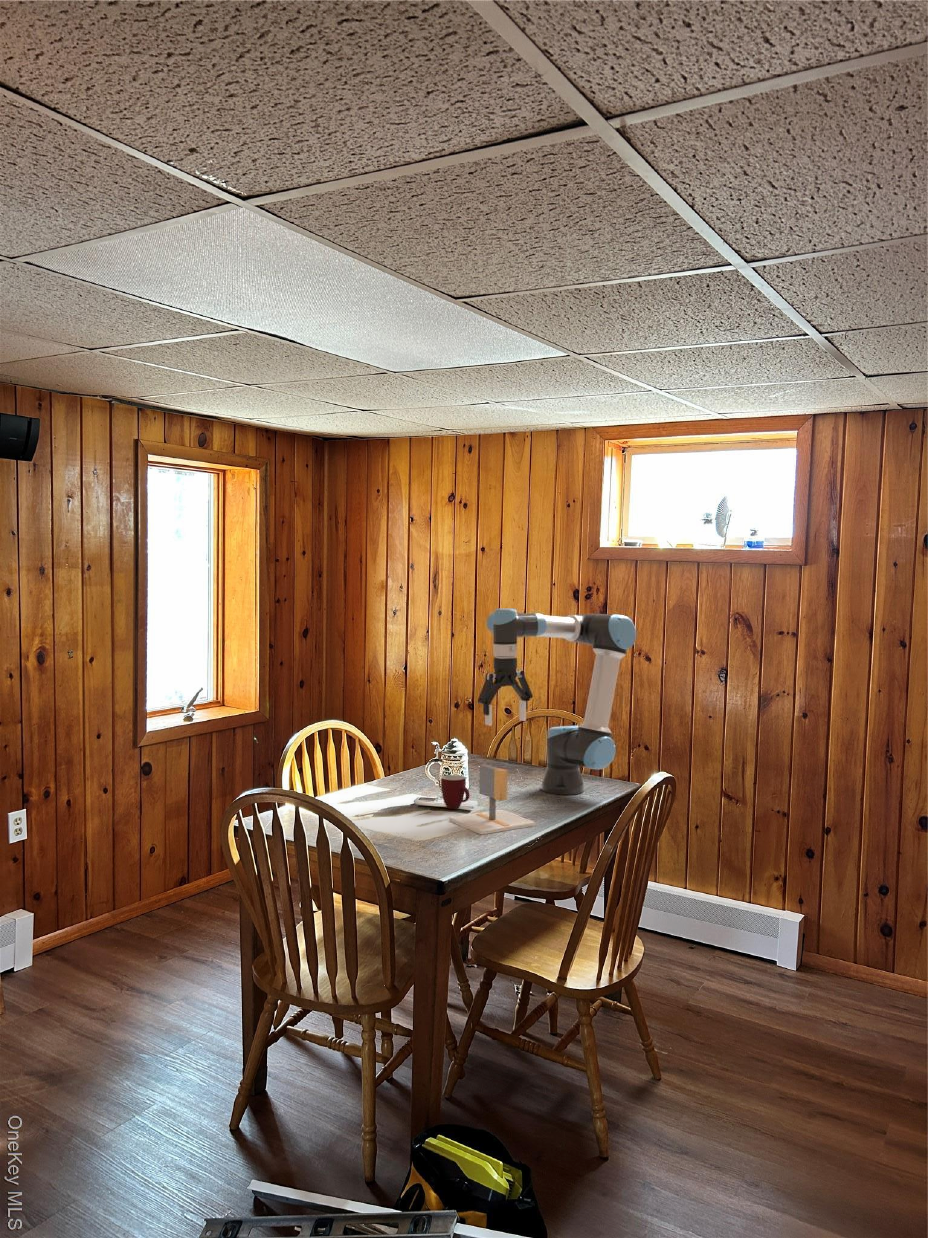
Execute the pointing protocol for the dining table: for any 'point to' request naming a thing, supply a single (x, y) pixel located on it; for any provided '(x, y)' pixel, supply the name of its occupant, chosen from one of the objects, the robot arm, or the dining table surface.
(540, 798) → the dining table surface
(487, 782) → the grey slab
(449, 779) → the mug
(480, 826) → the post base
